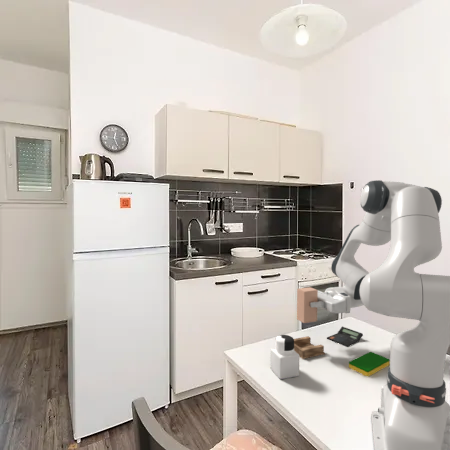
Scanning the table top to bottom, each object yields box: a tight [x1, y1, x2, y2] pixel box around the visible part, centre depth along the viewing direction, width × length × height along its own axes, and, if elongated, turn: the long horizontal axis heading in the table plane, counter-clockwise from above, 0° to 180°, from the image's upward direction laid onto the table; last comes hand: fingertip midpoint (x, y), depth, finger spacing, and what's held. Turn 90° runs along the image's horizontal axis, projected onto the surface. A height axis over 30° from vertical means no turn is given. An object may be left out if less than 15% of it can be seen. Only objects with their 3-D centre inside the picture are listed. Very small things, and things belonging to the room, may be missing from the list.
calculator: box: [326, 326, 364, 348], centre depth 127 cm, size 9×12×3 cm
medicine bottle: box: [269, 334, 301, 380], centre depth 101 cm, size 7×7×12 cm
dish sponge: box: [348, 351, 390, 377], centre depth 106 cm, size 7×14×2 cm, turn 124°
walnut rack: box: [293, 336, 326, 360], centre depth 117 cm, size 10×11×3 cm
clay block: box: [296, 286, 319, 324], centre depth 116 cm, size 6×4×12 cm
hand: (305, 302), depth 116 cm, fingers closed on clay block, 4 cm apart
